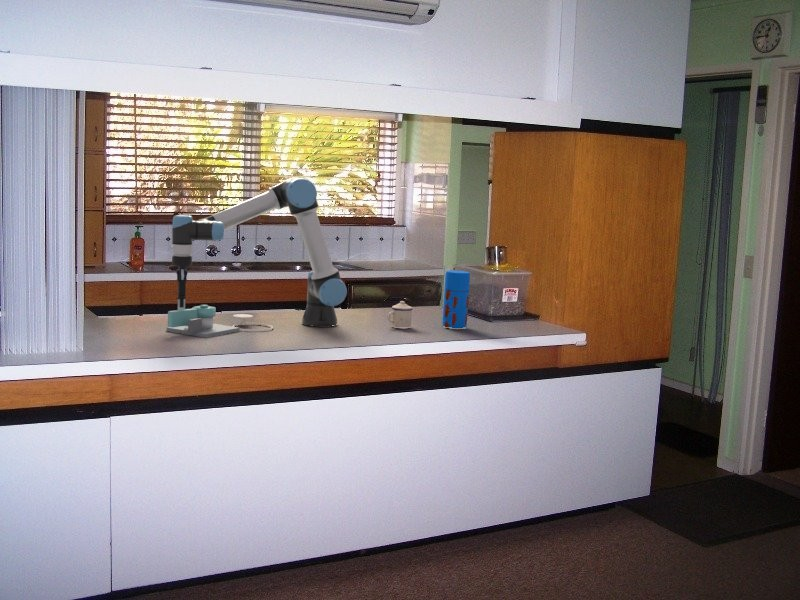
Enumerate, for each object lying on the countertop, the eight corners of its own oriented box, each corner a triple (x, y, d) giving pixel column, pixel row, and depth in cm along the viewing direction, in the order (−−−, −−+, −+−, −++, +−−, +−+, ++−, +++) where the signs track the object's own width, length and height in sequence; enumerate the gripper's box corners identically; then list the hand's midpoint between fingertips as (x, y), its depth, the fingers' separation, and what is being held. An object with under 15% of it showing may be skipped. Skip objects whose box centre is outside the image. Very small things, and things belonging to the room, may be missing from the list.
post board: (239, 331, 344) (240, 315, 343) (200, 338, 324) (201, 321, 323) (201, 325, 353) (201, 309, 352) (160, 332, 333) (161, 315, 332)
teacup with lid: (403, 325, 381) (404, 299, 379) (415, 328, 373) (417, 302, 372) (381, 326, 373) (382, 300, 372) (393, 330, 366) (394, 303, 365)
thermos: (456, 325, 389) (459, 270, 386) (471, 329, 380) (475, 273, 377) (437, 326, 383) (440, 270, 380) (451, 330, 374) (455, 273, 371)
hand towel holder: (245, 323, 340) (219, 315, 355) (245, 334, 341) (219, 325, 356) (281, 320, 351) (255, 313, 366) (281, 331, 352) (255, 323, 367)
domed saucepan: (204, 319, 345) (204, 302, 345) (220, 322, 340) (220, 305, 340) (161, 325, 328) (162, 307, 327) (177, 328, 323) (178, 310, 322)
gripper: (171, 253, 339) (170, 312, 342) (172, 256, 326) (172, 317, 330) (191, 253, 341) (190, 312, 344) (193, 257, 329) (192, 317, 332)
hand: (181, 315), depth 337 cm, fingers closed
